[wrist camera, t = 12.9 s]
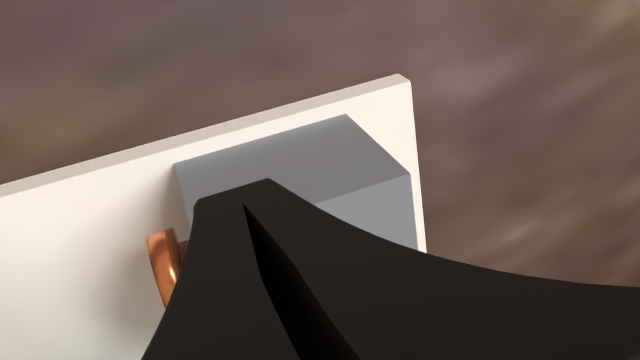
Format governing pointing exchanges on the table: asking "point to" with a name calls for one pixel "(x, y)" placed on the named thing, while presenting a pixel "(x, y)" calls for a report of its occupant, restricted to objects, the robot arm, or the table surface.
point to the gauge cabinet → (315, 175)
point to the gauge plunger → (166, 260)
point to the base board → (141, 226)
